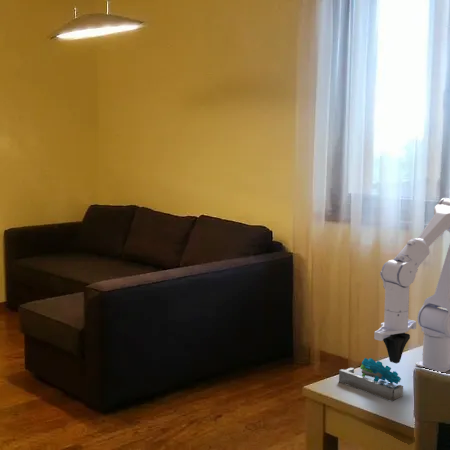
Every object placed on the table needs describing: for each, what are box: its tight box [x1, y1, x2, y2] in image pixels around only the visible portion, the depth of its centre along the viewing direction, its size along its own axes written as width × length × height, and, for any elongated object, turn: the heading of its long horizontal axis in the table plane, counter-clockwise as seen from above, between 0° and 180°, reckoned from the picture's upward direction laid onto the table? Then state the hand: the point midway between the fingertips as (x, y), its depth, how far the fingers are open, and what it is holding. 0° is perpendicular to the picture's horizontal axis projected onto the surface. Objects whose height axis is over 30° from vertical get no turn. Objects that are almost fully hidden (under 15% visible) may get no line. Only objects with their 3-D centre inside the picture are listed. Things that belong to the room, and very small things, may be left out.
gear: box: [359, 357, 402, 385], centre depth 166 cm, size 11×6×10 cm
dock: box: [338, 367, 404, 402], centre depth 164 cm, size 4×16×3 cm, turn 40°
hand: (394, 361), depth 170 cm, fingers closed
